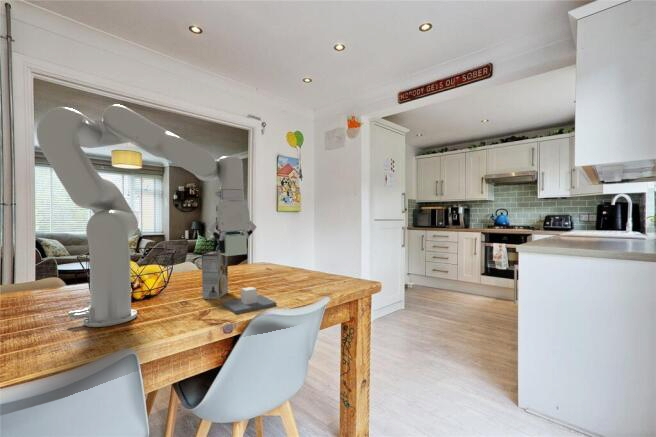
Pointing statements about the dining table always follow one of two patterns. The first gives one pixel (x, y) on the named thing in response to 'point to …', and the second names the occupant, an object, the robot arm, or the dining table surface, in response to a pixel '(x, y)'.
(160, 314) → the dining table surface
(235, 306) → the base
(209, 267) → the coffee box
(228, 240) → the square sleeve
